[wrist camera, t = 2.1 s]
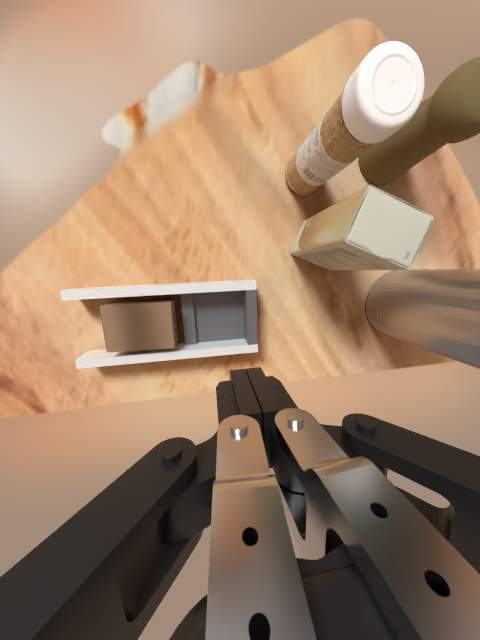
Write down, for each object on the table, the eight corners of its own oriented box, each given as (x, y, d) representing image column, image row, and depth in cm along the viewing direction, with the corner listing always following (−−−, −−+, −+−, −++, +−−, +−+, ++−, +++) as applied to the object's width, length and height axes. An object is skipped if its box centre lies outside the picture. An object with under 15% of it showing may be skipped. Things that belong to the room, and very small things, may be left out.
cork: (396, 189, 28) (510, 141, 18) (353, 180, 27) (446, 123, 17) (409, 134, 27) (539, 48, 17) (364, 123, 26) (472, 23, 16)
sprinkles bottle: (328, 174, 27) (442, 85, 14) (302, 205, 27) (390, 145, 14) (302, 143, 26) (399, 14, 13) (275, 175, 26) (344, 81, 13)
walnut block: (175, 298, 28) (170, 303, 24) (178, 337, 29) (174, 348, 25) (114, 300, 27) (99, 306, 23) (120, 341, 28) (106, 352, 24)
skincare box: (344, 238, 29) (440, 217, 17) (330, 271, 30) (413, 272, 18) (300, 218, 28) (371, 180, 16) (287, 253, 28) (345, 241, 16)
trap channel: (251, 279, 28) (256, 280, 25) (253, 344, 30) (258, 352, 27) (76, 288, 26) (59, 290, 23) (90, 358, 27) (76, 368, 25)
